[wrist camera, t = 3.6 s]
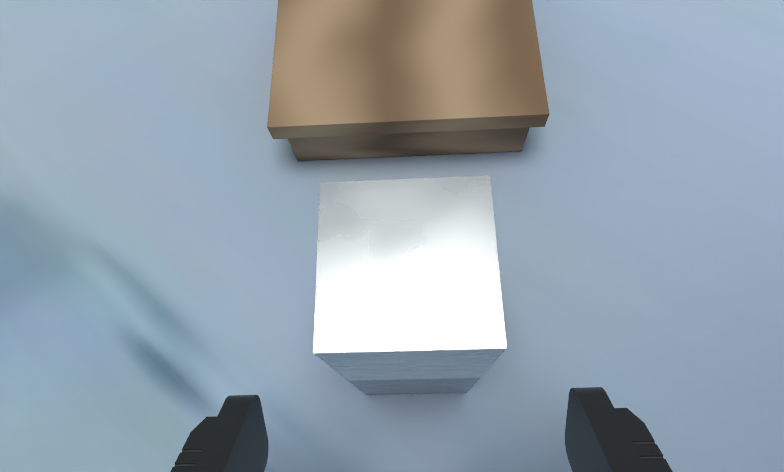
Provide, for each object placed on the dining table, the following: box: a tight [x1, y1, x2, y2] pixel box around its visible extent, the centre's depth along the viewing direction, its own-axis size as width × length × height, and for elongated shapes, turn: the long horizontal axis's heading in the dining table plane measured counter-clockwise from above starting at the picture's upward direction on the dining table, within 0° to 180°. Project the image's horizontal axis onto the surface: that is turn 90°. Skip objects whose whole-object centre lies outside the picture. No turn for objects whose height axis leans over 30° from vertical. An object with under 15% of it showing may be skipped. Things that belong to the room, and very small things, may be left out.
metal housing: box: [313, 175, 507, 395], centre depth 18 cm, size 4×4×12 cm
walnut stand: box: [267, 0, 549, 161], centre depth 28 cm, size 13×13×4 cm
